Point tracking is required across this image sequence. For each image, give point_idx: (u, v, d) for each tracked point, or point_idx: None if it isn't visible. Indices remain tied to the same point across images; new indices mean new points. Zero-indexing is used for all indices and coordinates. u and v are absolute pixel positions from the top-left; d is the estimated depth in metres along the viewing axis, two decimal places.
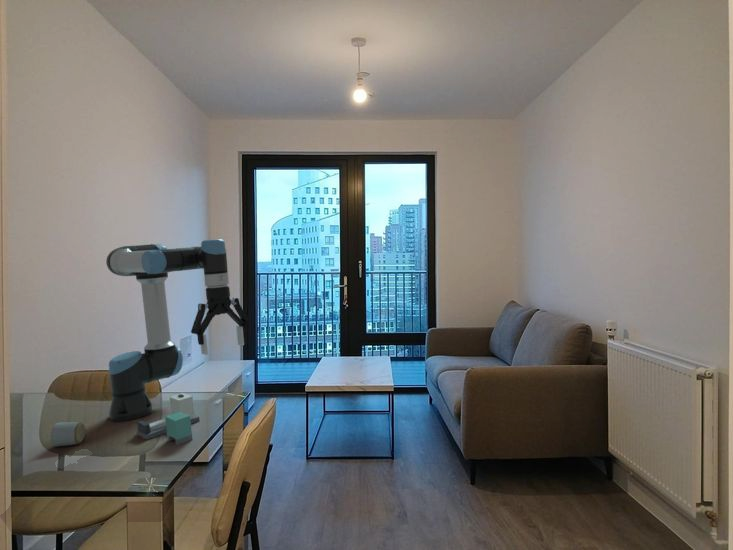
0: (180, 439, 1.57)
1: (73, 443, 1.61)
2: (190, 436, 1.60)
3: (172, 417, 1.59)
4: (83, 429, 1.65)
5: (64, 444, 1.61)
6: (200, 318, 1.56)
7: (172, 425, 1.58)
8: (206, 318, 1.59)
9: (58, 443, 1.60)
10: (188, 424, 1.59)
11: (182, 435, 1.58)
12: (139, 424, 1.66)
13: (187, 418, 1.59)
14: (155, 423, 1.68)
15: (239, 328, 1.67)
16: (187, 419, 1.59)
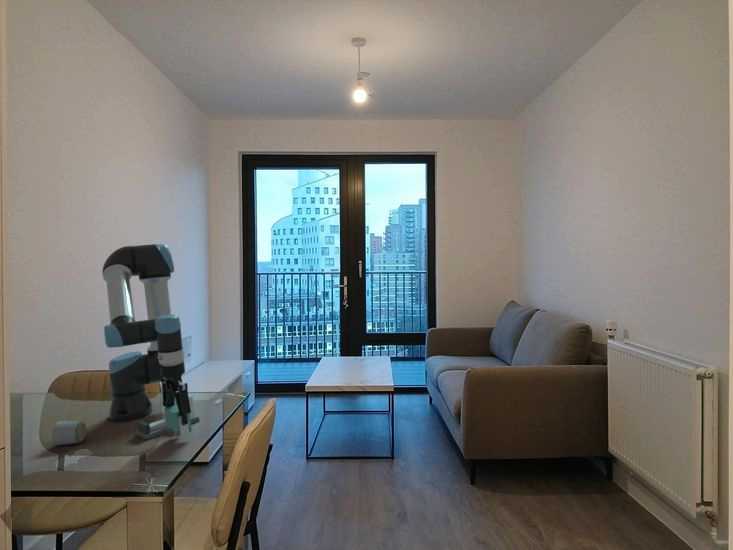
0: (179, 431, 1.58)
1: (74, 442, 1.62)
2: (189, 428, 1.60)
3: (172, 410, 1.59)
4: (84, 428, 1.66)
5: (65, 443, 1.62)
6: (162, 392, 1.63)
7: (171, 417, 1.58)
8: None
9: (59, 442, 1.61)
10: (187, 416, 1.60)
11: None
12: (139, 424, 1.66)
13: None
14: (155, 423, 1.68)
15: None
16: None
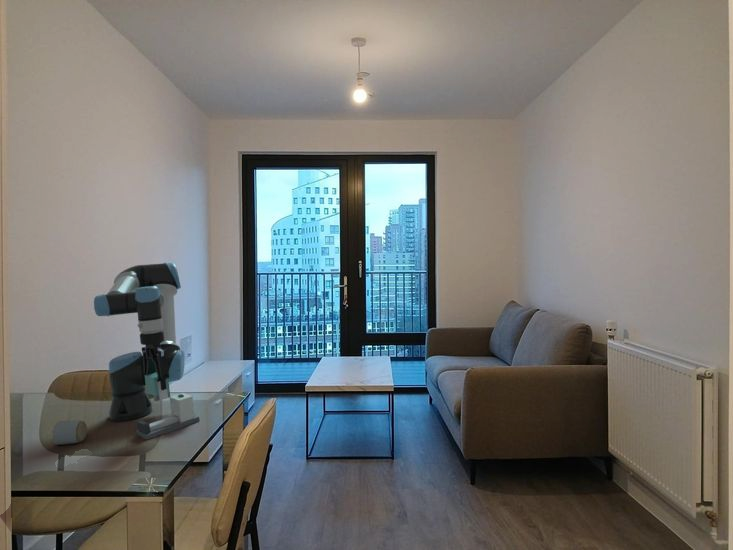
0: (158, 396, 1.66)
1: (75, 441, 1.63)
2: (168, 394, 1.69)
3: (151, 376, 1.68)
4: (85, 427, 1.67)
5: (66, 442, 1.62)
6: (143, 360, 1.72)
7: (150, 383, 1.67)
8: None
9: (60, 441, 1.62)
10: (166, 382, 1.68)
11: None
12: (139, 424, 1.66)
13: None
14: (155, 423, 1.68)
15: None
16: None
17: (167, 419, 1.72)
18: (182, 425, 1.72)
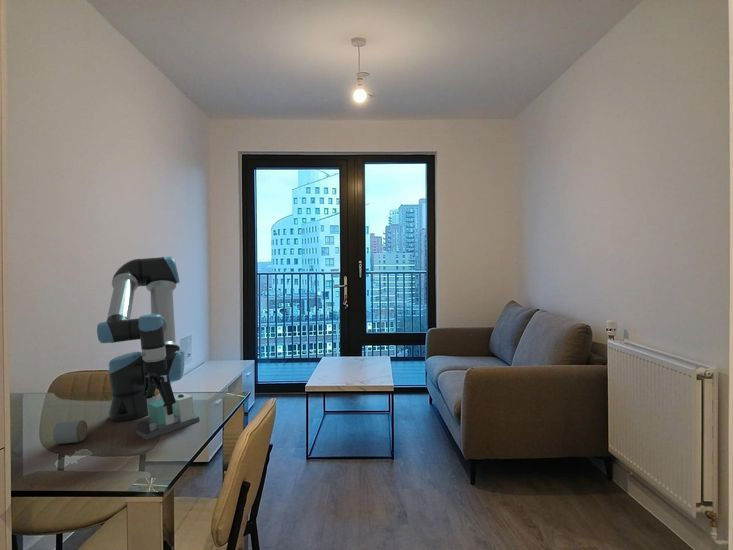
0: (162, 424, 1.67)
1: (75, 441, 1.63)
2: None
3: (154, 404, 1.69)
4: (85, 427, 1.67)
5: (66, 442, 1.63)
6: (144, 383, 1.74)
7: (154, 412, 1.68)
8: None
9: (61, 441, 1.62)
10: None
11: (163, 421, 1.68)
12: (139, 424, 1.66)
13: None
14: None
15: None
16: None
17: None
18: (182, 425, 1.72)
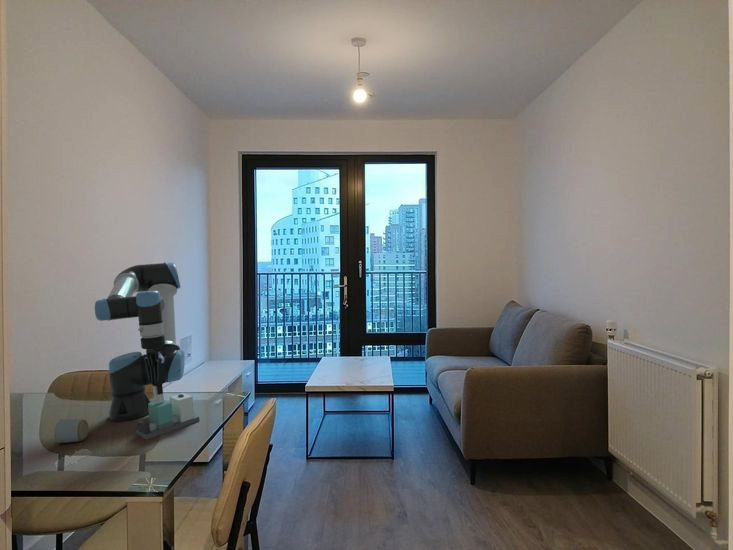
0: (162, 425, 1.67)
1: (76, 440, 1.64)
2: (171, 422, 1.70)
3: (155, 404, 1.68)
4: (86, 426, 1.68)
5: (67, 441, 1.64)
6: (146, 367, 1.71)
7: (154, 412, 1.68)
8: None
9: (62, 440, 1.63)
10: (169, 411, 1.69)
11: (163, 421, 1.68)
12: (139, 424, 1.66)
13: (168, 405, 1.69)
14: None
15: None
16: (168, 406, 1.69)
17: None
18: (182, 425, 1.72)
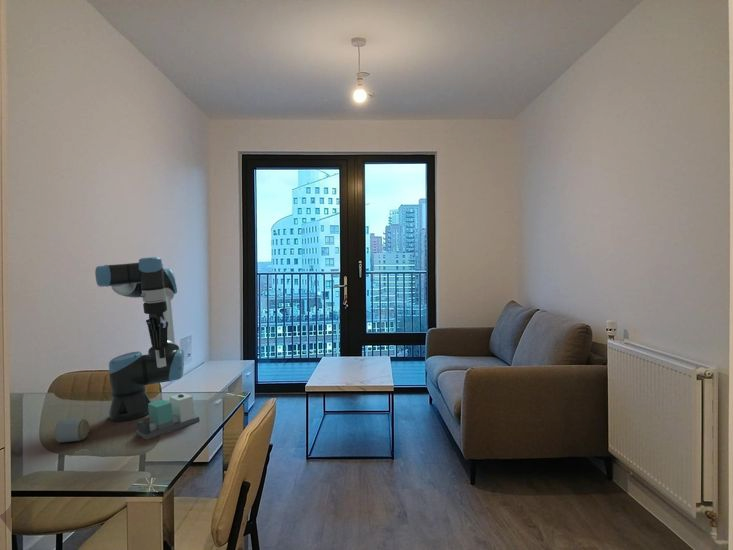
0: (162, 424, 1.67)
1: (77, 439, 1.64)
2: (171, 422, 1.70)
3: (154, 404, 1.69)
4: (87, 426, 1.69)
5: (68, 440, 1.64)
6: (149, 332, 1.75)
7: (154, 412, 1.68)
8: None
9: (62, 439, 1.63)
10: (169, 411, 1.69)
11: (163, 421, 1.68)
12: (139, 424, 1.66)
13: (168, 405, 1.69)
14: None
15: None
16: (168, 406, 1.69)
17: None
18: (182, 425, 1.72)
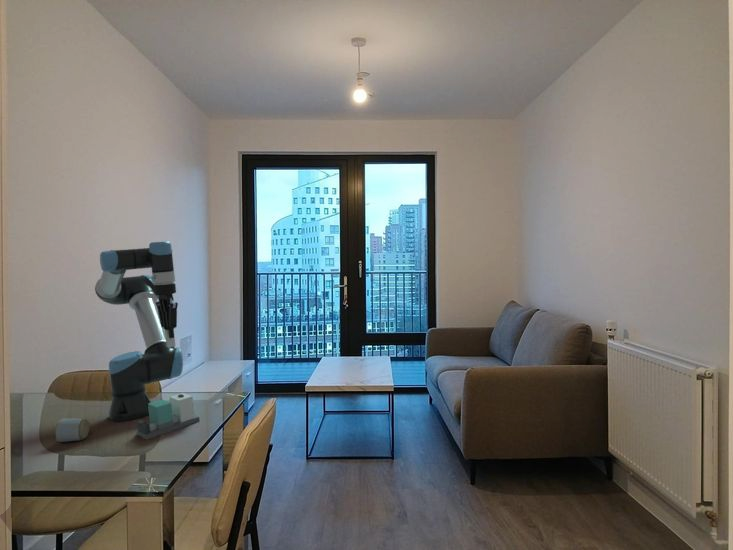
0: (162, 424, 1.67)
1: (77, 439, 1.65)
2: (171, 422, 1.70)
3: (154, 404, 1.69)
4: (87, 425, 1.69)
5: (69, 440, 1.65)
6: (159, 314, 1.83)
7: (154, 412, 1.68)
8: None
9: (63, 439, 1.64)
10: (169, 411, 1.69)
11: (163, 421, 1.68)
12: (139, 424, 1.66)
13: (168, 405, 1.69)
14: None
15: None
16: (168, 406, 1.69)
17: None
18: (182, 425, 1.72)
